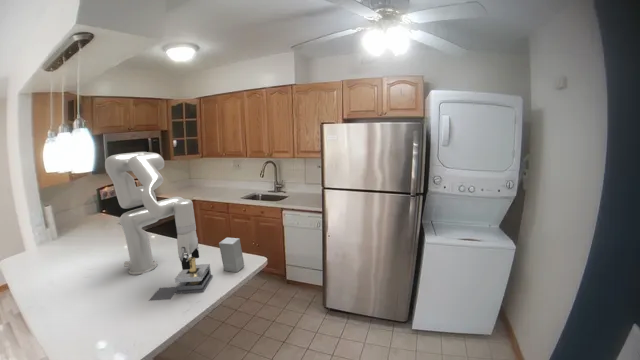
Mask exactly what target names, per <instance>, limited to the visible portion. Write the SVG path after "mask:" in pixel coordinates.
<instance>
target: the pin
mask: <svg viewBox="0 0 640 360" xmlns="http://www.w3.org/2000/svg"><path fill="white" fill-rule="evenodd" d="M196 259H197V258H195V257H192V256H189V259H188V260H189V261H190V269H189V273H190V274H193V273H197V269H196V265H197V264H196ZM194 282H195V281H194Z"/></svg>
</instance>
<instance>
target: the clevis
mask: <svg viewBox="0 0 640 360" xmlns="http://www.w3.org/2000/svg"><path fill="white" fill-rule="evenodd" d="M196 269H197V273H193V274H190V273H189V269H188V270H183V269H182V270H180V271H179V273H178V274H177V275H176V276H175V278H174V282H175V283H176V284H177V283H178V284H177V285H176V286H175V287H176V289H177V290H176V291H175V294H174V295H180V294H181V295H182V294H184V295H185V294H197V293H198V294H199V293H205V291H206V289H207V287H208V286H209V284H210V283H211V281H212V279H213V278H214V274H212V272H211V265H210V263H205V264H204V263H203V264H196ZM194 281H195V282H194Z"/></svg>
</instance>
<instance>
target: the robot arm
mask: <svg viewBox="0 0 640 360" xmlns="http://www.w3.org/2000/svg"><path fill="white" fill-rule="evenodd" d="M104 168H105V171H106V173H107V175H108V176H109V178H110V180H111V181H112V184H113V186H114V190H115V195H116V198H117V201H118V204H119V206H120V208H122V209H126V210H127V209H132V208H135V207H139V206H142V207H139V208H135V209H132V210H129V211H126V212H123V213H122V214H121V216H120V217H119V224H120V226H121V228H122V230H123V233H124V236H125V241H126V247H127V251H128V256H129V260H127V261H125V262H124V265H123V267H124V268H129V269H128V274H129V275H135V276H137V275H138V276H139V275H143V274H145V273H148V272H151V271H153V270H155V269H156V268H157V266H158V262H157V261H156V260H154V258H153V253H152V248H151V247H152V246H151V242H150V236H149V233H148V232H147V231H146V230H144V229H143V227H146V226H149V225H151V224H154V223H157V222H158V221H159V220H162V219H165V218H168V217H171V216H174V221H175V227H176V228H175V229H176V234H177V236H176V238H177V240H176V241H177V243H176V244H177V254H178V258H179V261H180V263H181V268H182V269H183V270H188V269H190V261H189V260H188V259H189V257H190V255H191V257H195V259H199V258H200V251H199V246H198V245H199V238H198V235H197V231H196V230H197V226H196V218H195V210H194V203H193V201H192V199H189V198H186V199H185V198H183V197H182V196H173V197H170V198H165V199H162V200H158V201H157V197H156V192H155V190H157V189H158V188H159V187H160V186H161V185H162V184H163V182H164V177H163V176H162V174H161V173H160V172H159V171H160V170H163V169H164V168H165V160H164V157H162V155H160V154H159V153H157V152H150V151H148V152H147V151H135V152H126V153H118V154H117V153H116V154H112V155H110V156H108V157H107V158H106V159H105V161H104ZM129 172H132V173H133V174H134V176H135V177H136V178H137V180H138V181H139V183H140V184H141V185H139V186H137V184H136V182H135V178H134V177H133V176H132V175H131V174H130V173H129Z"/></svg>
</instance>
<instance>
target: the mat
mask: <svg viewBox="0 0 640 360" xmlns="http://www.w3.org/2000/svg"><path fill="white" fill-rule="evenodd" d="M176 290H177V289H176V286H170V287H169V286H168V287H159V288H158V289H157V290H156V291H155V293H154V294H153V295H152V296H151V297H150V298H149V300H148V302H152V301H165V300H171V299H172V298H173V296H174V295H176V294H175V291H176Z"/></svg>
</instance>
